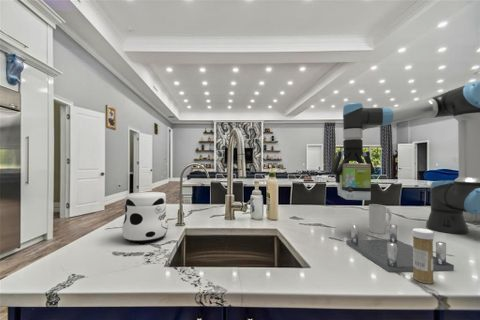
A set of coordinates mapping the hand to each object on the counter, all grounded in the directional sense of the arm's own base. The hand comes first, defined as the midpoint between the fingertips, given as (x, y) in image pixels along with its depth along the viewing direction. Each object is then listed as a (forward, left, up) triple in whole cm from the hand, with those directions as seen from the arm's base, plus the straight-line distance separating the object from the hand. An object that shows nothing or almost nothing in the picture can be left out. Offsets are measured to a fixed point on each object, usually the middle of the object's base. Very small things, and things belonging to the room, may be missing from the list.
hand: (353, 190), depth 104 cm
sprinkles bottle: (+2, +39, -20) cm, 44 cm away
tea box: (0, 0, -3) cm, 3 cm away
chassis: (-2, +22, -19) cm, 29 cm away
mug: (-16, -5, -20) cm, 26 cm away
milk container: (+87, -1, -20) cm, 89 cm away
